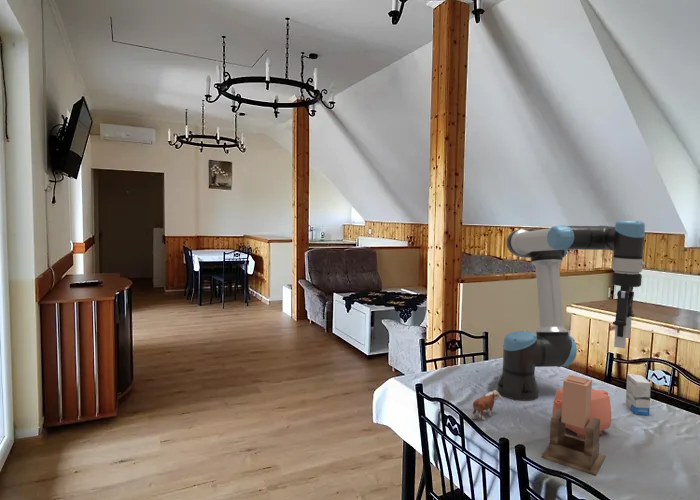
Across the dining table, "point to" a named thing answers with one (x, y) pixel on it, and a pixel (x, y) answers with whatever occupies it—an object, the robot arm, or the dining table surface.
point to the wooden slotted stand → (575, 446)
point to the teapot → (598, 410)
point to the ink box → (638, 394)
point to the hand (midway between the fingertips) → (622, 342)
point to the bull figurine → (485, 403)
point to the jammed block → (576, 401)
